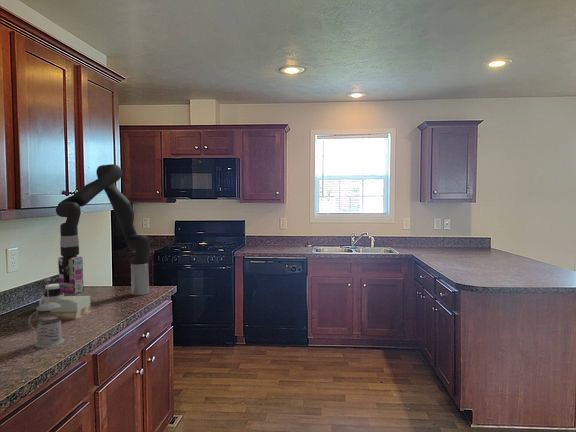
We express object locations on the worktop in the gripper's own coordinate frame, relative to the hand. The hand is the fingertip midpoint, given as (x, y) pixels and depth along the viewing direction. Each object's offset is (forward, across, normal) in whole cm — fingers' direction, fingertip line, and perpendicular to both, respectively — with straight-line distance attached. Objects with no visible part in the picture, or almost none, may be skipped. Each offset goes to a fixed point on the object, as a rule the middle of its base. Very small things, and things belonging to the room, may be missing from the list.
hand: (71, 280), depth 186 cm
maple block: (+17, 0, 0) cm, 17 cm away
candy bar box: (+5, 0, 0) cm, 5 cm away
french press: (+16, +34, +12) cm, 40 cm away
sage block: (+13, 0, 0) cm, 13 cm away
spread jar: (+16, -11, -18) cm, 27 cm away
